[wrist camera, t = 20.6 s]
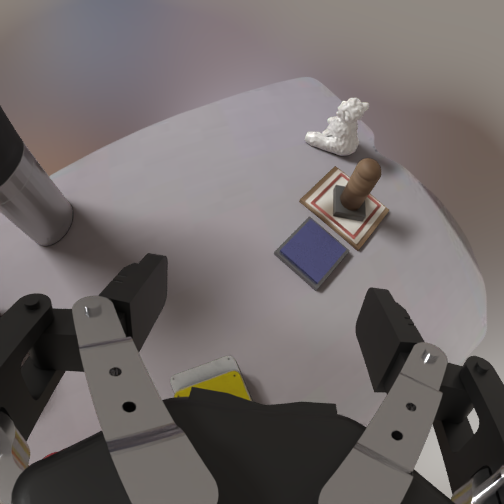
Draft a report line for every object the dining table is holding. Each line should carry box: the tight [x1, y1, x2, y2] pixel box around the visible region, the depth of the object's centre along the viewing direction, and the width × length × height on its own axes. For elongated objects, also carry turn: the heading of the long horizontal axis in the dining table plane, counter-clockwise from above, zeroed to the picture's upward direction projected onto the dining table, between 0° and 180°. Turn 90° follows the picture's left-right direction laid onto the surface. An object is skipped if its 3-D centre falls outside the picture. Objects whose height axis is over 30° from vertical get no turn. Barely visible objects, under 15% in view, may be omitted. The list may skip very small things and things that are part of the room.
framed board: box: [299, 166, 389, 251], centre depth 49 cm, size 12×10×1 cm
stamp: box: [333, 158, 381, 222], centre depth 44 cm, size 5×5×11 cm
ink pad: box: [274, 217, 349, 291], centre depth 45 cm, size 8×8×2 cm
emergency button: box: [170, 356, 253, 401], centre depth 35 cm, size 9×4×15 cm
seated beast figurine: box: [305, 98, 369, 156], centre depth 49 cm, size 10×9×12 cm
